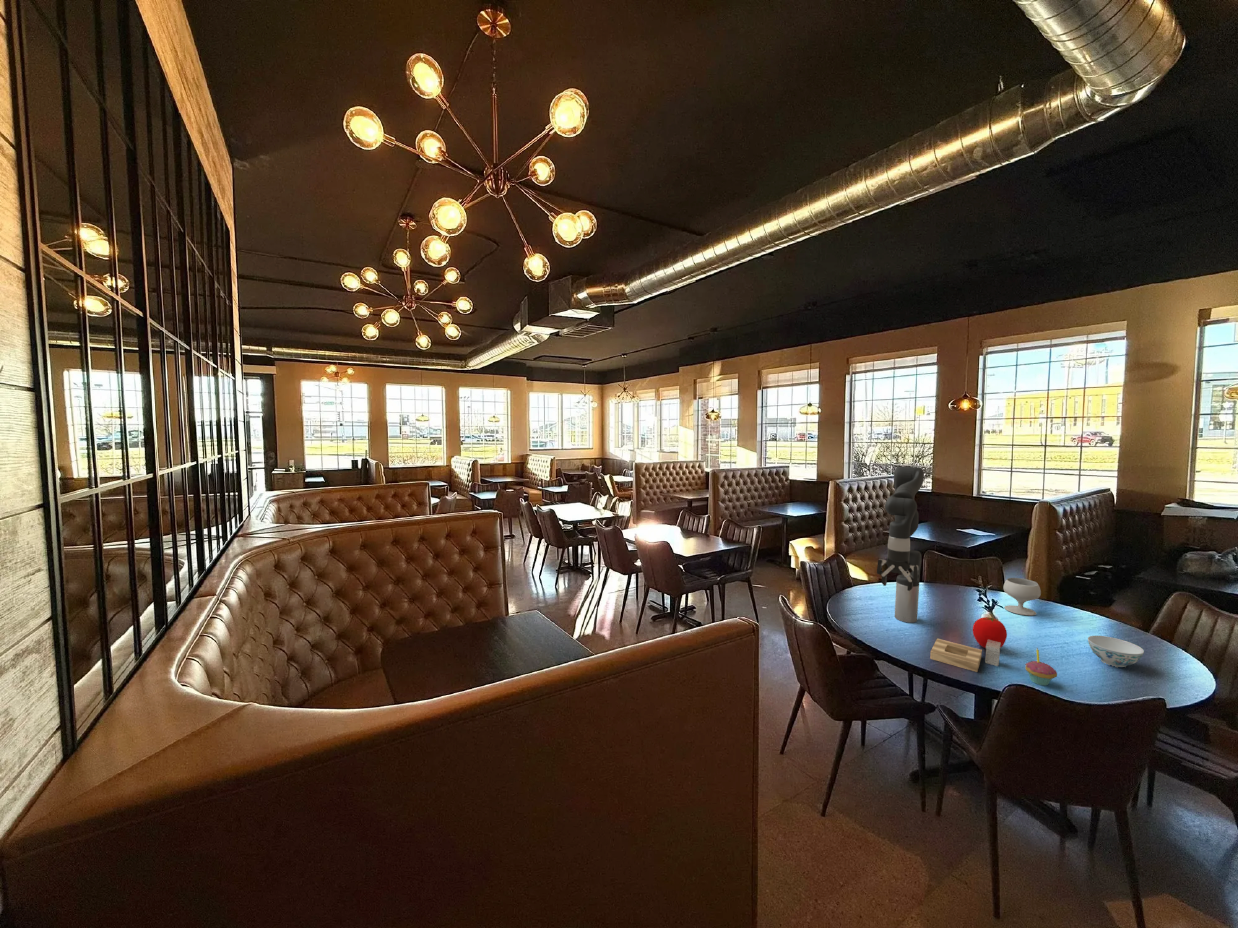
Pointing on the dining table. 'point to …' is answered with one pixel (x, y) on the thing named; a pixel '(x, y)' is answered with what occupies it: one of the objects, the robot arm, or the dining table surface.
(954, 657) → the well block
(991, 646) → the grey stepped wood block
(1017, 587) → the chalice
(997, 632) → the tomato
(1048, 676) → the cupcake
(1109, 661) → the chinaware
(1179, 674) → the dining table surface
